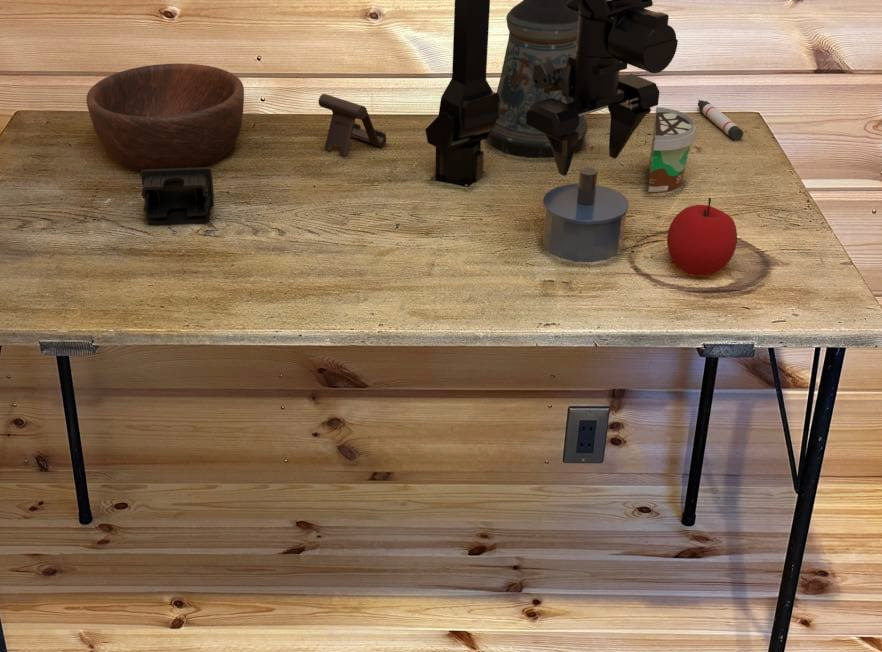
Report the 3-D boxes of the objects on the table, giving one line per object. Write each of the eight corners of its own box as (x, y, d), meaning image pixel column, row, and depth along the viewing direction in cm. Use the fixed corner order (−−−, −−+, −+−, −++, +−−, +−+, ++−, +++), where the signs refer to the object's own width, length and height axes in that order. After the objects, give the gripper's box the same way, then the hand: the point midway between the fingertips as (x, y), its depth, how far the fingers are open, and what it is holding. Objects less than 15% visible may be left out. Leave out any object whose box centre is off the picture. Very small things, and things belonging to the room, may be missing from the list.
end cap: (215, 202, 179) (210, 160, 175) (212, 223, 173) (207, 180, 169) (148, 204, 179) (142, 162, 175) (143, 226, 173) (137, 183, 169)
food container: (689, 203, 176) (698, 139, 170) (647, 200, 177) (655, 137, 171) (688, 169, 186) (697, 108, 180) (648, 166, 187) (656, 105, 181)
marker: (742, 139, 195) (744, 128, 194) (731, 141, 195) (733, 129, 193) (702, 106, 207) (704, 95, 206) (692, 107, 207) (693, 96, 206)
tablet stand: (387, 145, 195) (386, 96, 191) (355, 160, 191) (353, 110, 186) (348, 132, 200) (346, 84, 195) (315, 146, 195) (313, 97, 191)
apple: (648, 262, 162) (657, 195, 156) (699, 246, 165) (709, 179, 159) (694, 291, 155) (705, 222, 149) (746, 274, 159) (759, 205, 153)
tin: (531, 255, 164) (534, 213, 160) (559, 223, 171) (562, 182, 168) (606, 272, 160) (611, 229, 156) (631, 238, 167) (636, 197, 164)
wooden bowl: (99, 189, 183) (88, 126, 177) (92, 129, 203) (82, 70, 197) (259, 171, 188) (254, 109, 182) (237, 114, 208) (232, 56, 202)
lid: (527, 215, 161) (530, 177, 158) (564, 184, 169) (567, 147, 165) (607, 235, 156) (611, 196, 152) (641, 202, 164) (645, 164, 160)
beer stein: (465, 145, 195) (469, -10, 181) (532, 110, 207) (541, -38, 192) (549, 171, 186) (561, 11, 172) (614, 133, 198) (630, -20, 184)
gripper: (607, 20, 160) (596, 130, 169) (501, 49, 151) (495, 163, 160) (668, 42, 152) (654, 156, 161) (560, 73, 143) (551, 191, 153)
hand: (588, 165), depth 159 cm, fingers open, 9 cm apart
